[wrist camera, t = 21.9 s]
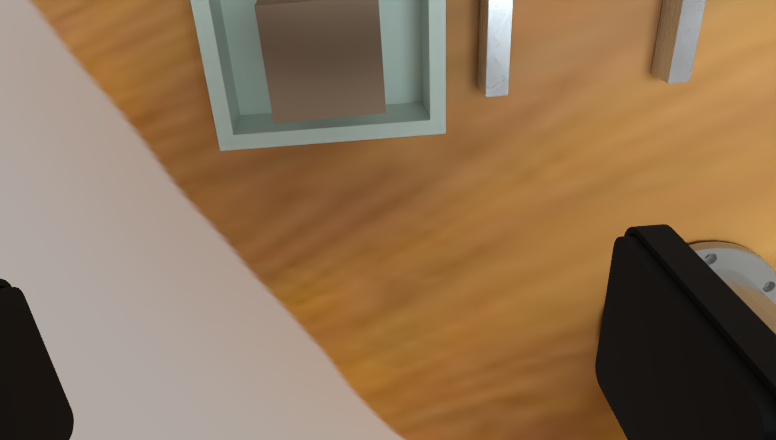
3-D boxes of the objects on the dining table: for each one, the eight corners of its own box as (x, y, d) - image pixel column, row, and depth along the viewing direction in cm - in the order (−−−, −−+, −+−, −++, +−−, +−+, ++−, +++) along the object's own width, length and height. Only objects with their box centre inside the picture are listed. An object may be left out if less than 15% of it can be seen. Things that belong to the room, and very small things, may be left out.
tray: (435, 111, 35) (445, 133, 32) (229, 126, 34) (220, 151, 31) (433, -123, 29) (445, -122, 26) (186, -109, 28) (169, -107, 25)
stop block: (371, 55, 32) (386, 113, 25) (286, 63, 32) (273, 123, 24) (364, -36, 30) (378, -5, 22) (273, -29, 30) (254, 5, 22)
